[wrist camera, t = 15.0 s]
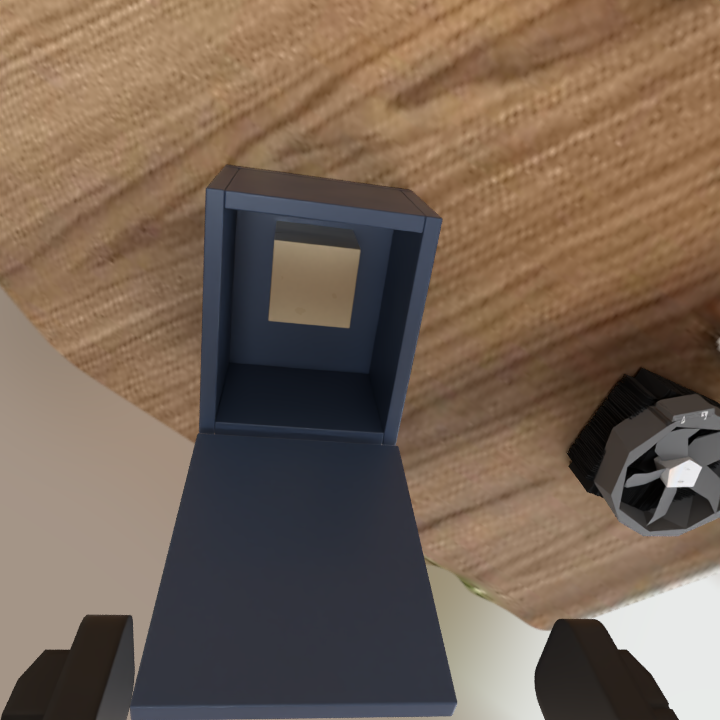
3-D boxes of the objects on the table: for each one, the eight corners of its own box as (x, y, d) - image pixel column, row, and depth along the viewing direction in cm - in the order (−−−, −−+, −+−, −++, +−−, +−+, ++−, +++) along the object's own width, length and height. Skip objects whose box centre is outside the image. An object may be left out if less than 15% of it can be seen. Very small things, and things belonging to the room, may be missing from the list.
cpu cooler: (692, 554, 40) (582, 516, 38) (648, 502, 46) (548, 465, 43) (794, 444, 37) (680, 392, 34) (733, 400, 42) (630, 352, 39)
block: (343, 300, 34) (349, 328, 30) (271, 293, 34) (267, 321, 30) (353, 229, 32) (360, 249, 29) (276, 220, 32) (274, 239, 28)
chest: (225, 164, 31) (205, 187, 24) (411, 189, 33) (443, 218, 26) (217, 366, 36) (198, 433, 29) (377, 379, 38) (395, 446, 31)
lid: (128, 707, 17) (130, 722, 18) (458, 704, 19) (452, 717, 19) (197, 432, 29) (197, 445, 29) (398, 445, 30) (395, 457, 31)
